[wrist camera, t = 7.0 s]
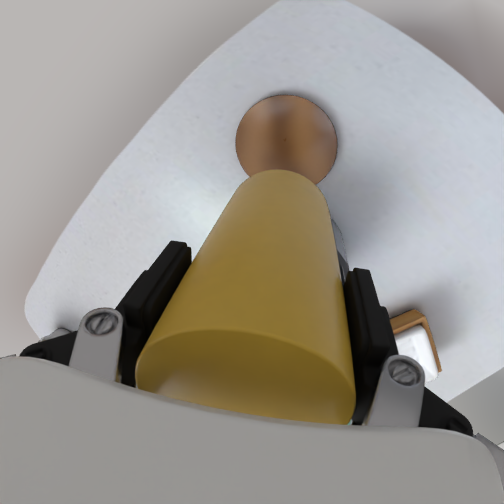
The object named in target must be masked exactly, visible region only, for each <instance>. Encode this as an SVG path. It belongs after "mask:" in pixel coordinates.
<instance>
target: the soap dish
mask: <svg viewBox="0 0 504 504" xmlns="http://www.w3.org/2000/svg"><path fill="white" fill-rule="evenodd" d="M390 323H391V326H392V330H393V333H394V337H395V341H396V345H397V348H398V352H399V355H405V356H408V357H411V358H413V359H414V360H416V361H417V362H418V363H419V364H420V365H421V366H422V367H423V370H424V372H425V384H426V383H428V382H431V381H433V380H434V379H436V378H437V377H438V375H439V374H438V373H439V372H441V371H442V369H441V365H440V361H439V358H438V354H437V351H436V347H435V344H434V341H433V338H432V335H431V332H430V328H429V325H428V322H427V319H426V317H425V315H423V314H422V313H420V312H418V311H417V310H415V309H413V310H410V311H408V312H406V313H403V314H401V315H399V316H397V317H394V318H392V319H390Z"/></svg>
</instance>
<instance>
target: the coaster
mask: <svg viewBox="0 0 504 504" xmlns="http://www.w3.org/2000/svg"><path fill="white" fill-rule="evenodd" d="M236 152H237V156H238V159H239V162H240V164H241V166H242V168H243V169H244V171H245V172H246V173H247V175H248V176H249V177H251V176H253V175H255V174H257V173H260V172H263V171H268V170H287V171H292V172H295V173H298V174H300V175H302V176H304V177H306V178H307V179H309V180H310V181H311V182H312V183H314V184H315V185H316V184H317V183H319V182H320V181H321V180H322V179H323V178H324V177H325V176H326V175H327V174H328V172H329V171H330V169H331V168H332V166H333V164H334V161H335V158H336V154H337V137H336V132H335V129H334V126H333V124H332V122H331V120H330V119H329V117H328V116H327V115H326V113H325V112H324V111H323V110H322V109H321V108H320V107H318V106H317V105H316V104H314V103H313V102H311V101H309V100H307V99H305V98H302V97H299V96H294V95H277V96H272V97H269V98H266V99H264V100H262V101H260V102H258V103H257V104H255V105H254V106H253V107H251V108H250V109H249V110H248V111H247V113H246V114H245V115H244V117H243V118H242V120H241V122H240V124H239V126H238V129H237V133H236Z"/></svg>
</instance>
